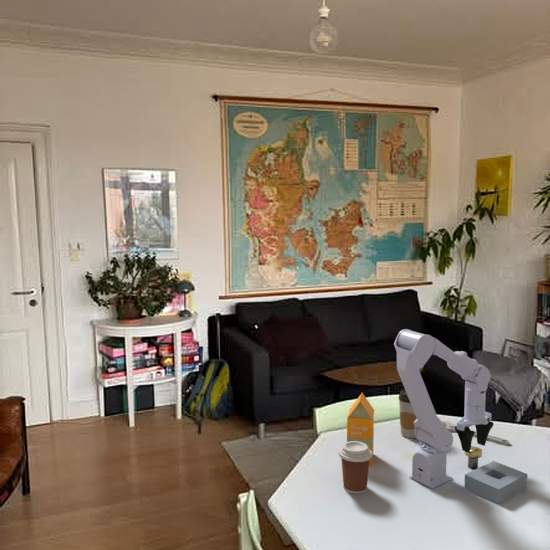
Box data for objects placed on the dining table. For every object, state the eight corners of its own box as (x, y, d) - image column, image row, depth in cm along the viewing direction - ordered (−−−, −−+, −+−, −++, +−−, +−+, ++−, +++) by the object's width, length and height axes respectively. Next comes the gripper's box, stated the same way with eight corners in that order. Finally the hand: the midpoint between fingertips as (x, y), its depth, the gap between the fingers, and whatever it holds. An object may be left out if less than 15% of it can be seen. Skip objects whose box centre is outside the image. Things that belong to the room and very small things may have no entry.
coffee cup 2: (425, 433, 181) (426, 391, 179) (418, 441, 174) (419, 398, 172) (402, 428, 185) (403, 387, 184) (394, 436, 178) (395, 394, 177)
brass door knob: (475, 472, 152) (475, 454, 151) (461, 466, 156) (461, 448, 155) (484, 468, 155) (485, 450, 154) (470, 462, 158) (471, 444, 158)
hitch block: (498, 504, 135) (498, 489, 134) (464, 488, 143) (464, 474, 142) (526, 488, 143) (527, 474, 142) (493, 474, 151) (493, 460, 150)
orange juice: (346, 463, 158) (346, 400, 156) (349, 451, 166) (349, 391, 165) (372, 466, 156) (373, 402, 154) (374, 454, 165) (374, 392, 163)
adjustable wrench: (510, 445, 172) (511, 440, 172) (502, 451, 167) (502, 445, 167) (441, 424, 190) (441, 419, 190) (432, 428, 186) (432, 424, 185)
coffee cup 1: (377, 485, 145) (377, 444, 144) (363, 499, 137) (363, 456, 136) (347, 476, 150) (347, 436, 149) (332, 490, 142) (332, 448, 141)
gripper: (472, 412, 146) (471, 459, 147) (501, 402, 154) (499, 446, 156) (450, 405, 152) (450, 450, 153) (479, 395, 160) (478, 438, 161)
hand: (473, 447), depth 155 cm, fingers open, 7 cm apart
